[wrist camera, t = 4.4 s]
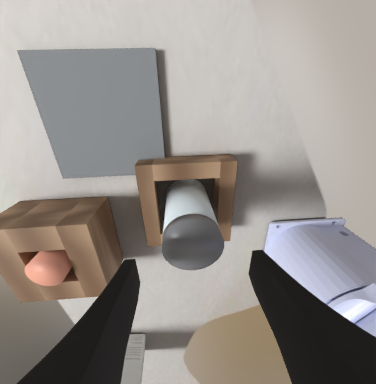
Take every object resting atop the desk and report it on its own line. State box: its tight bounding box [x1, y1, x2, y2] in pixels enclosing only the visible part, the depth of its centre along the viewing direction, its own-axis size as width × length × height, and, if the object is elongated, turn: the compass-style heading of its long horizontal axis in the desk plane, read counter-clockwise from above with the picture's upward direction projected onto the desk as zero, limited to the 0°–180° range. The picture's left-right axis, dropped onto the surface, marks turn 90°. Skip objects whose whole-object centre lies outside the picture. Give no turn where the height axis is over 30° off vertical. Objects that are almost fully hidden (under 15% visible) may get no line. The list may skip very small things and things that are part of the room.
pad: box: [17, 48, 165, 178], centre depth 16 cm, size 10×10×1 cm
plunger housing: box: [0, 197, 123, 302], centre depth 19 cm, size 9×9×5 cm
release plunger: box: [25, 250, 72, 286], centre depth 18 cm, size 3×3×5 cm
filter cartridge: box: [162, 179, 224, 270], centre depth 16 cm, size 4×4×8 cm
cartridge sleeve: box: [134, 154, 238, 246], centre depth 19 cm, size 9×9×2 cm
